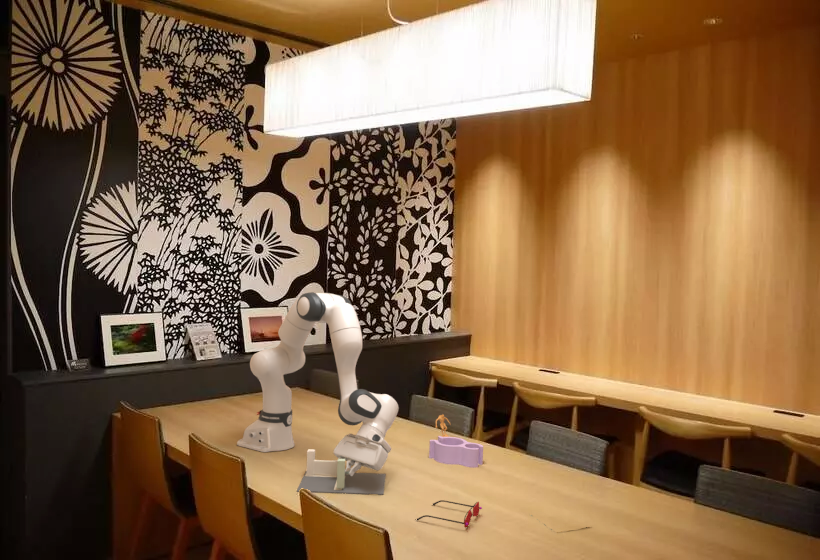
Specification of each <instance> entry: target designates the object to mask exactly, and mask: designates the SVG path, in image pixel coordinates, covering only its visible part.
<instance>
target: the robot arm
mask: <svg viewBox="0 0 820 560" xmlns="http://www.w3.org/2000/svg"><path fill="white" fill-rule="evenodd" d="M316 323H318V324H319V323H320V324H327V325H328V328H329V329H328V330H329V336H330V339H331V341H330V342H331V346H332V350H333V354H334V359H335V364H336V371H337V372H336V373H337V380H338V381H337V382H338V388H339V396H340V397H339V403H338V407H337V412H338V413H337V414H338V417H339V418H340V420H341V421H342V422H343V423H344V424H346V425H348V426H357V425H359V424H361V423H362V424H361V426H360V428H359V429H358V431H357V432H356V434H353V433H349V434H346V435H344V436H343V438H341V439H340V441H338V444H337V445H336V446H335V447H334V449H333V455H334V456H336V458H337V459H345V462H346V464H345V474H347V475H350V476H353V474H354V473H357V472H358V471H359V470H360V469H361V468H362V467H365V468H367V469H370V470H373V471H376V472H377V471H380V470H382V468H383V467H384V465H385V463H386V461H387V459H388V457H389V453H391V451H392V447H391V445H390V444H389V443H388V442H387V440H386V439H385V437H386V434H387V432H388V430H390V428H391V427H392V425H393V424H394V421H396V420H395V419H396V417H397V415H398V414H399V409H400V407H399V404H398V402H397V400H396V399H395V398H394V397H393V396H391V395H389V394H387V393H382V394H381V393H374V392H370V391H368V390H367V389H364V388H358V385H357V384H358V383H357V376H356V368H357V367H356V365H357V364H358V363H357V362H358V359H359V357H360V354H361V352H362V351H363V333H362V328H361V325H360V320H359V317H358V314H357V312H356V310H355V308H354V306H353V305H352V303H351V301H350V299H349V298H348V297H346V296H344V295H341V294H334V293H330V292H315V291H314V292H313V291H311V292H306V293H303V294H301V295H300V296H299V297H297V299H296V300H295V301H294V303H292V305H291V307H290V308H289V310H288V312H287V313H286V316H284V319H283V321H282V323H281V325H280V326H279V329H278V334H277V335H278V337H279V340H280V342H279V344H278V345H277V346H275V347H271V348H265V349H261V350H259V351H258V352H256V353H254V354H253V355H252V356H251V358H250V361H249V368H250V371H251V373H252V374H253V375H254V376H255V377H256V378H257V380H258V381H259V382H260V386H261V390H262V409H260V410H259V411H258V412H256V416H258V415H259V416H258V419H256V420H255V421H253V422H252V423H251V424H249V425H248V426H246V427H245V429H244V431H243V437H242V438H240V439H238V440H237V441H236V446H239V447H243V448H246V449H250V450H253V451H254V450H255V451H257V452H261V453H267V452H279V451H285V450H290V449H292V448H293V447H295V446H296V445H295V442H294V437H293V429H292V427H293V426H292V424H293V409H292V399H293V398H292V397H293V394H292V393H293V392H292V390H291V388H290V387H289V386H288V385H286V382H285V378H284V375H287V374H292V373H295V372H297V371H298V370H300V369H302V368H303V367H304V365H305V363H306V354H305V352H304V348H305V347H304V346H305V343H306V341H307V340H308V337H309V336H310V333H311V331H312V330H313V328H314V326H315V324H316Z"/></svg>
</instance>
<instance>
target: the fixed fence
mask: <svg viewBox="0 0 820 560" xmlns="http://www.w3.org/2000/svg"><path fill="white" fill-rule="evenodd" d="M337 464H338V459H336V460H335V459H334V460H333V459H332V460H327V459H326V460H325V459H324V460H323V459H321V460H320V459H316V449H311V448H310V449H309V448H308V449H307V451H306V471H307V476H314V474H328V475H332V477H337Z"/></svg>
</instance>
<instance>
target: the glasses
mask: <svg viewBox="0 0 820 560" xmlns="http://www.w3.org/2000/svg"><path fill="white" fill-rule="evenodd" d="M441 502H443V503H444V502H445V503H449V504H455V505H459V506H463V507H464V506H465V507H468V508H470V509H469V510H468V511H467V512H466V514H465V516H464V519H463V522H462V521H459V520H452V519H448V518H443V517H438V516H433V515H423V516H420V517H418V518H416V519H417V520H418V521H419V520H421V519H423V518H427V517H429V518H432V519H437V520H442V521H446V522H450V523H451V522H452V523H457V524H462V525H464V528H465V529H467V528H466V527H467V526H468V525H469V526H470V524H471V523H470V522H471V520H472V517H478V516H479V513H480V510H483V508H482V506H480V502H479V501H476V502H475V503H474V504H473V505H471V504H470V505H469V504H464V503H460V502H459V503H458V502H454V501H450V500H449V501H448V500H445V499H444V500H438V501H436V502H433V503H432V504H433V505H432V506H435V505H438V504H439V503H441ZM477 515H478V516H477Z"/></svg>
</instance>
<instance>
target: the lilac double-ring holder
mask: <svg viewBox="0 0 820 560" xmlns="http://www.w3.org/2000/svg"><path fill="white" fill-rule="evenodd" d="M428 458H429V459H434V461H436V462H438V463H441V464H445V465H460V466H463V467H467V468H479V465H481V466H482V465H483V462H484V445H482V444H481V443H477V442H470V441H467V440H466V439H464V438H461V437H454V436H449V437H442V435H438V436H437V439H429V453H428Z"/></svg>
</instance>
